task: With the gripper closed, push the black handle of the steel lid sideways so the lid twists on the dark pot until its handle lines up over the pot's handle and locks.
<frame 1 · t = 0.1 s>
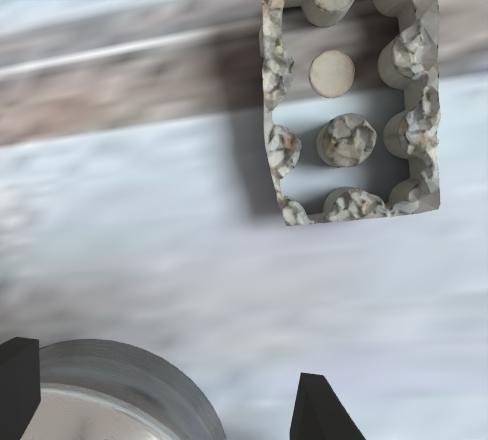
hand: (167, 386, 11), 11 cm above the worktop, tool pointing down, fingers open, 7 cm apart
egg carton: (337, 109, 21), on the worktop
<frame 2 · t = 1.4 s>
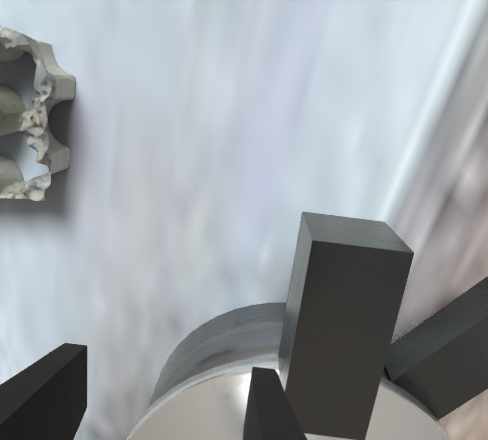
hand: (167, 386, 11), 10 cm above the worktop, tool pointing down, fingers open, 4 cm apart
cooker pot: (280, 416, 24), on the worktop
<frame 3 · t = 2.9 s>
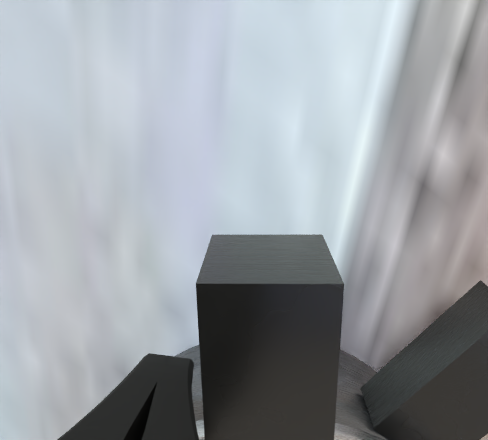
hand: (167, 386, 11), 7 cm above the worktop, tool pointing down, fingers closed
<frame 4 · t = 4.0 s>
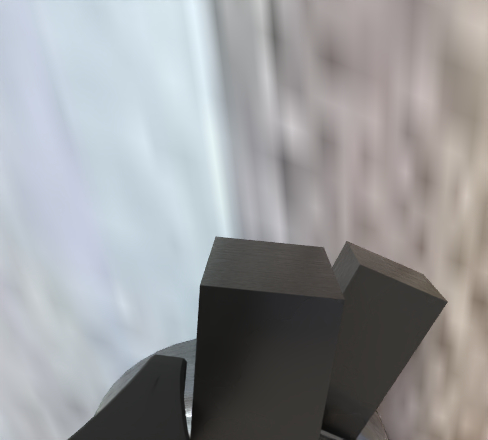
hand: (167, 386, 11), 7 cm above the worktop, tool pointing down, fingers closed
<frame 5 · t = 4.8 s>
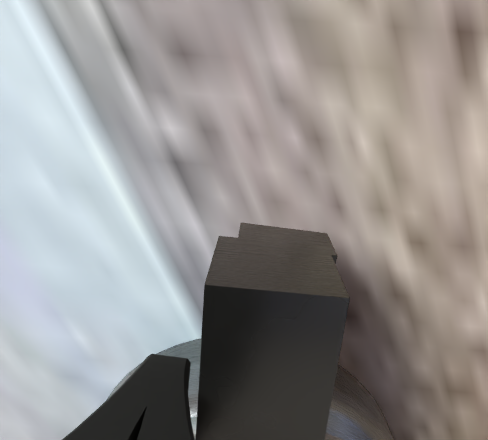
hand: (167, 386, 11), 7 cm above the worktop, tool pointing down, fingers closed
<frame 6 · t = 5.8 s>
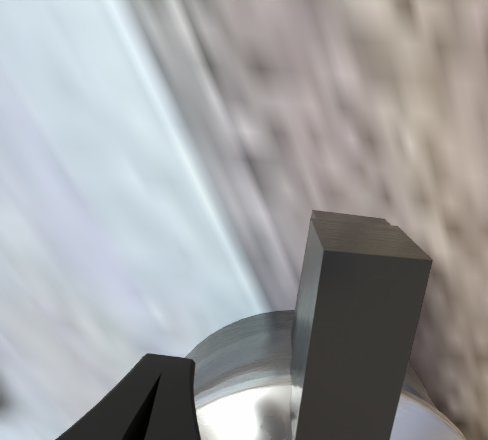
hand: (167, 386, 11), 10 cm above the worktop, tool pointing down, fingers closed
cooker pot: (293, 426, 23), on the worktop
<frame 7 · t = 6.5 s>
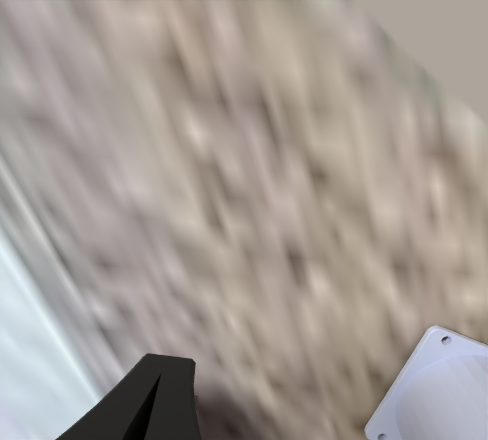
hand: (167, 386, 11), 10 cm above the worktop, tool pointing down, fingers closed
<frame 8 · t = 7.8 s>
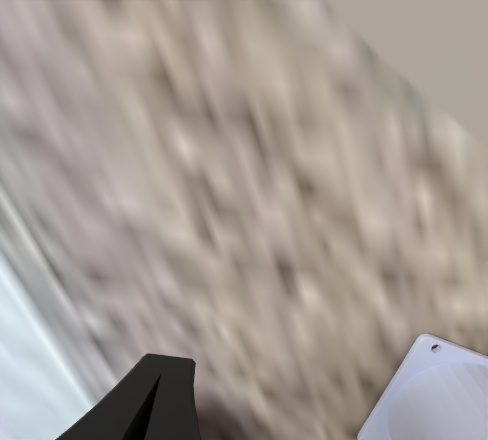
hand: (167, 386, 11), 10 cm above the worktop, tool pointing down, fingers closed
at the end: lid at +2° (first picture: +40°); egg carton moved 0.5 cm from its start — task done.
